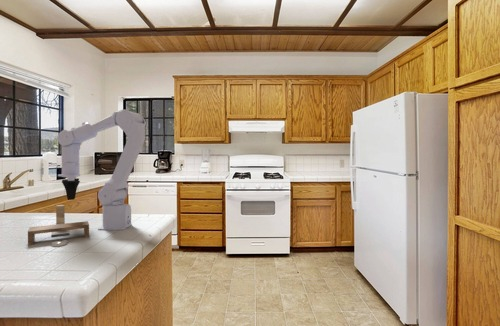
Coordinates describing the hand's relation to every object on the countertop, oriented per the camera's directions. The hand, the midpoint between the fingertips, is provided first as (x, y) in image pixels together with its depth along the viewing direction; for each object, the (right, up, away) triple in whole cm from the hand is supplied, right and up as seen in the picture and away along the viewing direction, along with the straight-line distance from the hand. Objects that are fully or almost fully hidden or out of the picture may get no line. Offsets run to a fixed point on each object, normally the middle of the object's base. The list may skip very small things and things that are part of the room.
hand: (71, 198), depth 108 cm
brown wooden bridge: (+7, -11, -16) cm, 21 cm away
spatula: (+2, -11, -9) cm, 14 cm away
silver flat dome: (+11, -11, -23) cm, 28 cm away
